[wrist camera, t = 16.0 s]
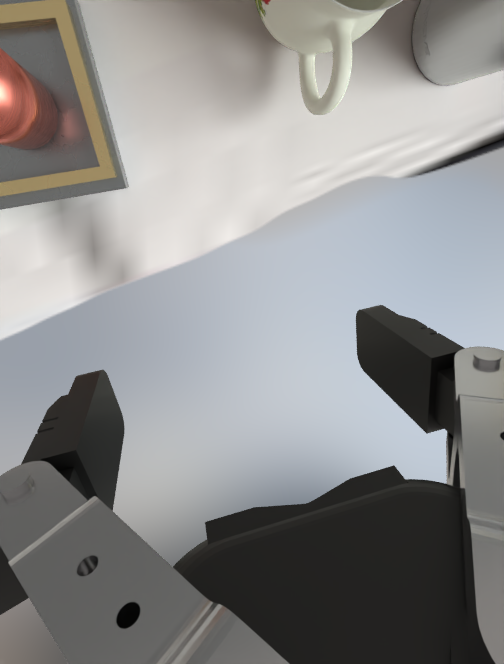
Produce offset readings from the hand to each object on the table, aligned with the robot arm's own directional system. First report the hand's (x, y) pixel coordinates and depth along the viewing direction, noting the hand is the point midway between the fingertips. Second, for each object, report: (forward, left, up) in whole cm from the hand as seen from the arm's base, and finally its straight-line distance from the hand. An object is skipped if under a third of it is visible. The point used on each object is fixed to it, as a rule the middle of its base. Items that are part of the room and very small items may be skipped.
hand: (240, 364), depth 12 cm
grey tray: (+12, -12, -30) cm, 35 cm away
